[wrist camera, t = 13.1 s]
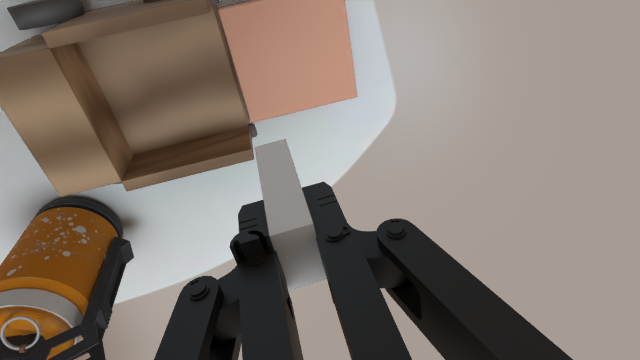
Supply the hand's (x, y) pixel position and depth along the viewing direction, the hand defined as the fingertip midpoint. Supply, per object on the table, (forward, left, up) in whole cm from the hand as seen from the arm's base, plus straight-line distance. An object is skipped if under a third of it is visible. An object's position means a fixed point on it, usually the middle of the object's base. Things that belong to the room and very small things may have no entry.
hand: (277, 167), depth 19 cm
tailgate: (0, -2, -19) cm, 19 cm away
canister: (+15, -23, -24) cm, 37 cm away
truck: (0, -10, -24) cm, 26 cm away
